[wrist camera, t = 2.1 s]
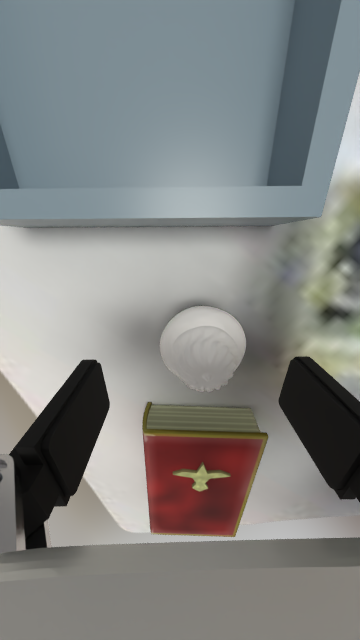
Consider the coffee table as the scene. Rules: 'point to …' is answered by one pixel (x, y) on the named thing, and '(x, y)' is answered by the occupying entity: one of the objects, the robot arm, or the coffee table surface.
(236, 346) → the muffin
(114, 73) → the bin
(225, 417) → the hardcover book
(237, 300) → the coffee table surface
